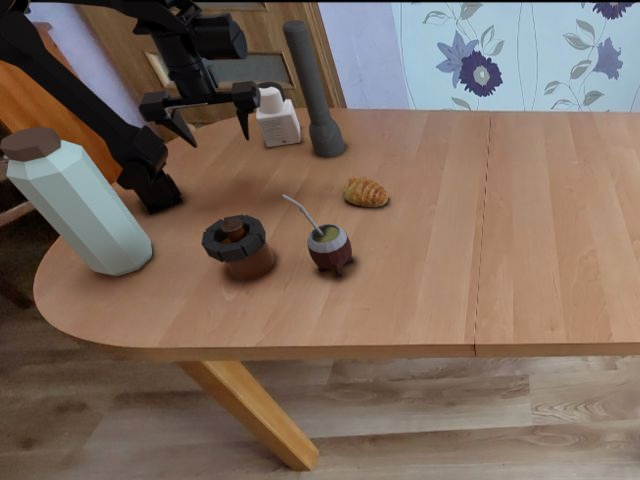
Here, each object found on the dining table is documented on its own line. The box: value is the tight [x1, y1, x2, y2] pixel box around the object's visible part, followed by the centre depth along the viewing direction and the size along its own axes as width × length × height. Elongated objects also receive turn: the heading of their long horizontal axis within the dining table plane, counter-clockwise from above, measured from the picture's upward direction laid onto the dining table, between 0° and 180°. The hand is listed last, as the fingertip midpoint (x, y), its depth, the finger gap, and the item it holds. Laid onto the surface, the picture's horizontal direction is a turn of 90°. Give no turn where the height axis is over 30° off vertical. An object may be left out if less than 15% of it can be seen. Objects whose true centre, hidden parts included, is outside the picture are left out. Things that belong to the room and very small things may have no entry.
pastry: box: [341, 176, 389, 208], centre depth 98 cm, size 9×7×4 cm
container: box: [255, 81, 301, 148], centre depth 110 cm, size 8×8×13 cm
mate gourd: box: [281, 193, 354, 278], centre depth 80 cm, size 8×8×15 cm
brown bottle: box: [220, 219, 276, 280], centre depth 82 cm, size 8×8×10 cm
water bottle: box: [0, 125, 153, 277], centre depth 76 cm, size 10×10×25 cm
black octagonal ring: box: [201, 214, 267, 264], centre depth 80 cm, size 9×9×2 cm
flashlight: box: [282, 19, 346, 158], centre depth 101 cm, size 7×28×7 cm
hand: (222, 143), depth 89 cm, fingers open, 9 cm apart
